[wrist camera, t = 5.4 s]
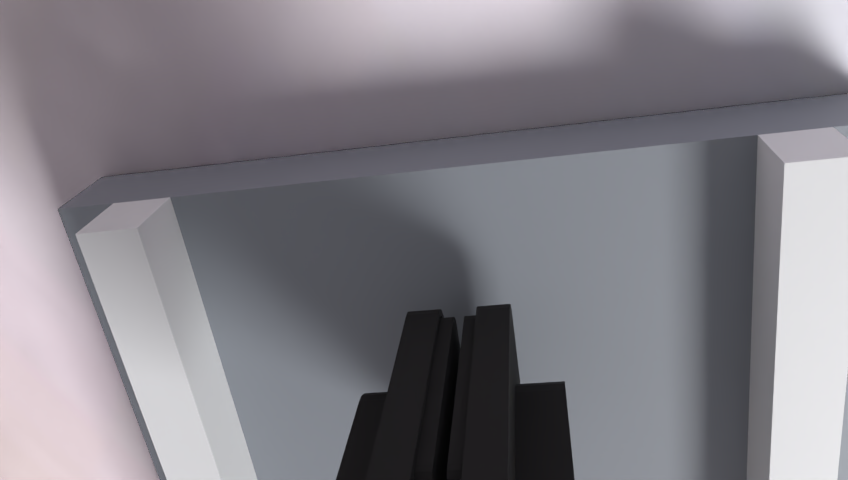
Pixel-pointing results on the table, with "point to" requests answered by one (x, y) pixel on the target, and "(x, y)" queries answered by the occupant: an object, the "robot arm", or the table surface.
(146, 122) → the table surface
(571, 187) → the railed grey tray
